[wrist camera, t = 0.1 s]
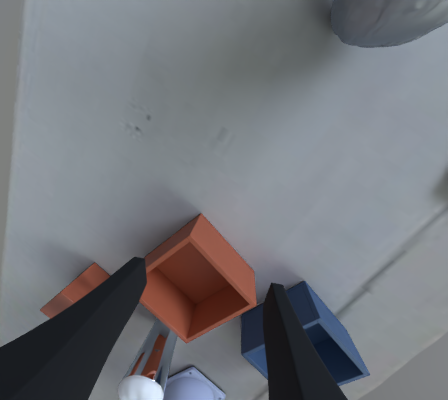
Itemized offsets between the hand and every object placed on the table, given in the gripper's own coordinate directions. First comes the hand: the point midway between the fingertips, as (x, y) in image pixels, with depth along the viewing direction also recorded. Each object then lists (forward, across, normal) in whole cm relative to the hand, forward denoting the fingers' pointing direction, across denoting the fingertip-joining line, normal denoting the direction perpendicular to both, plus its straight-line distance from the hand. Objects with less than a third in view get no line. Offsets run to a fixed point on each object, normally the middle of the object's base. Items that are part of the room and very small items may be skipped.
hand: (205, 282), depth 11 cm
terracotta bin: (+9, +2, +9) cm, 13 cm away
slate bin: (+8, -11, +15) cm, 20 cm away
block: (+8, +15, +15) cm, 23 cm away
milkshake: (+8, +5, +19) cm, 21 cm away
